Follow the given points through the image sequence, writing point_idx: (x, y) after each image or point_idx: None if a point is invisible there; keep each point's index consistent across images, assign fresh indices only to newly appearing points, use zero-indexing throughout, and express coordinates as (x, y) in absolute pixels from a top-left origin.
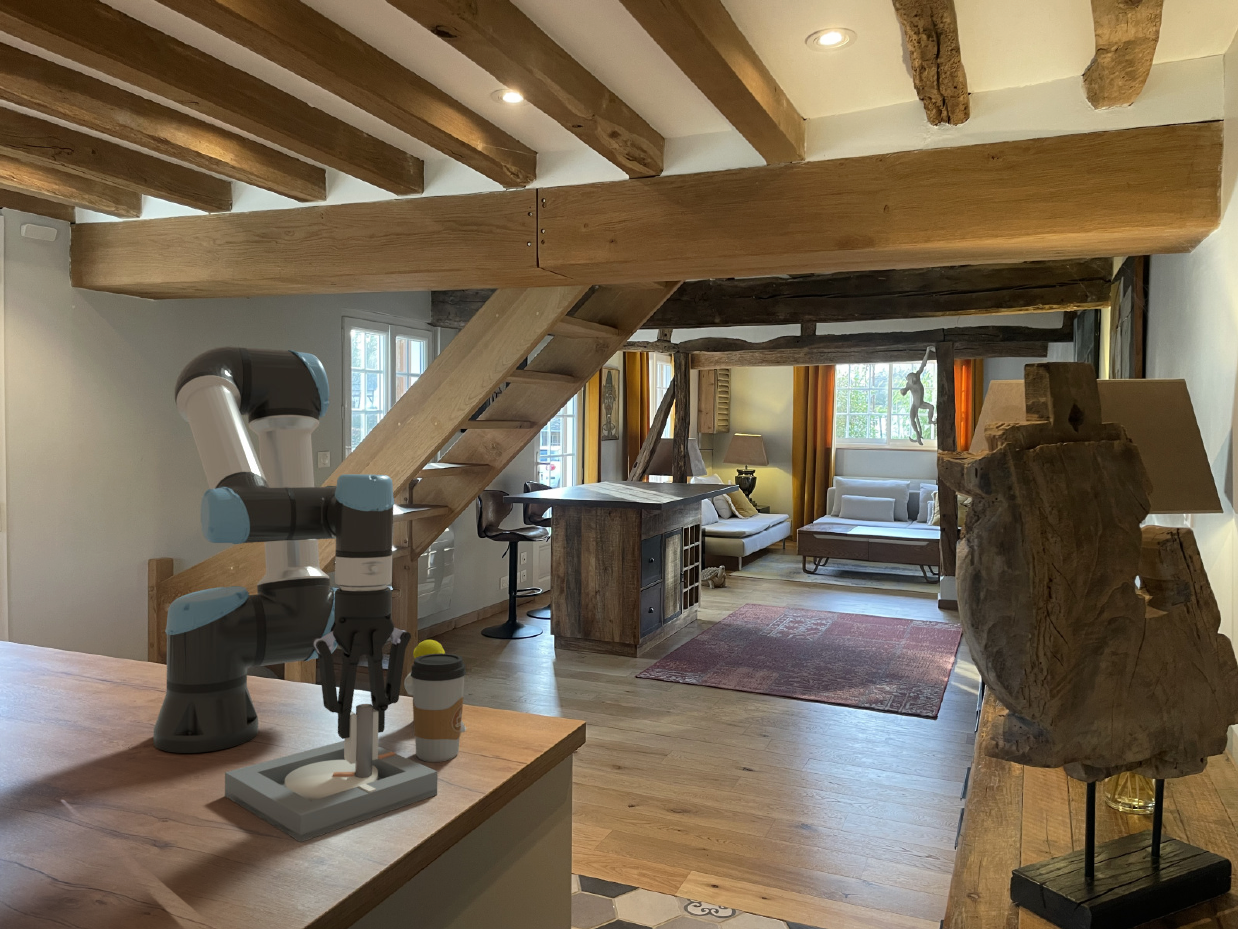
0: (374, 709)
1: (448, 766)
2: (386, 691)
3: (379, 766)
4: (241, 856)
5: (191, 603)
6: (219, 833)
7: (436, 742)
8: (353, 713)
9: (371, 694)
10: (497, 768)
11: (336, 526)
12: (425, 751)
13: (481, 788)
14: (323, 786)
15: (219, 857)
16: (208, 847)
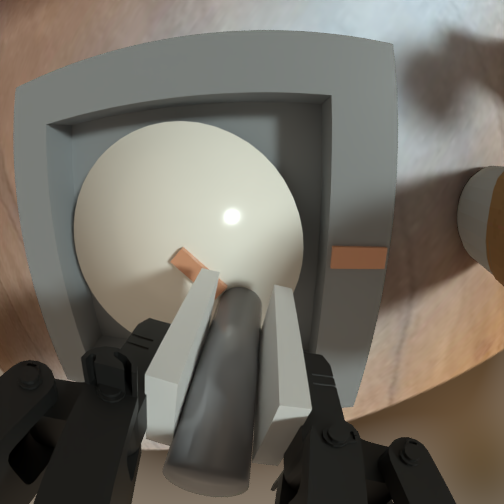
0: (286, 444)
1: (462, 276)
2: (390, 491)
3: (322, 262)
4: (30, 327)
5: None
6: (12, 244)
7: (488, 268)
8: (165, 430)
9: (301, 487)
10: (481, 340)
11: None
12: (469, 235)
13: (404, 390)
14: (130, 297)
15: (13, 309)
16: (4, 275)
